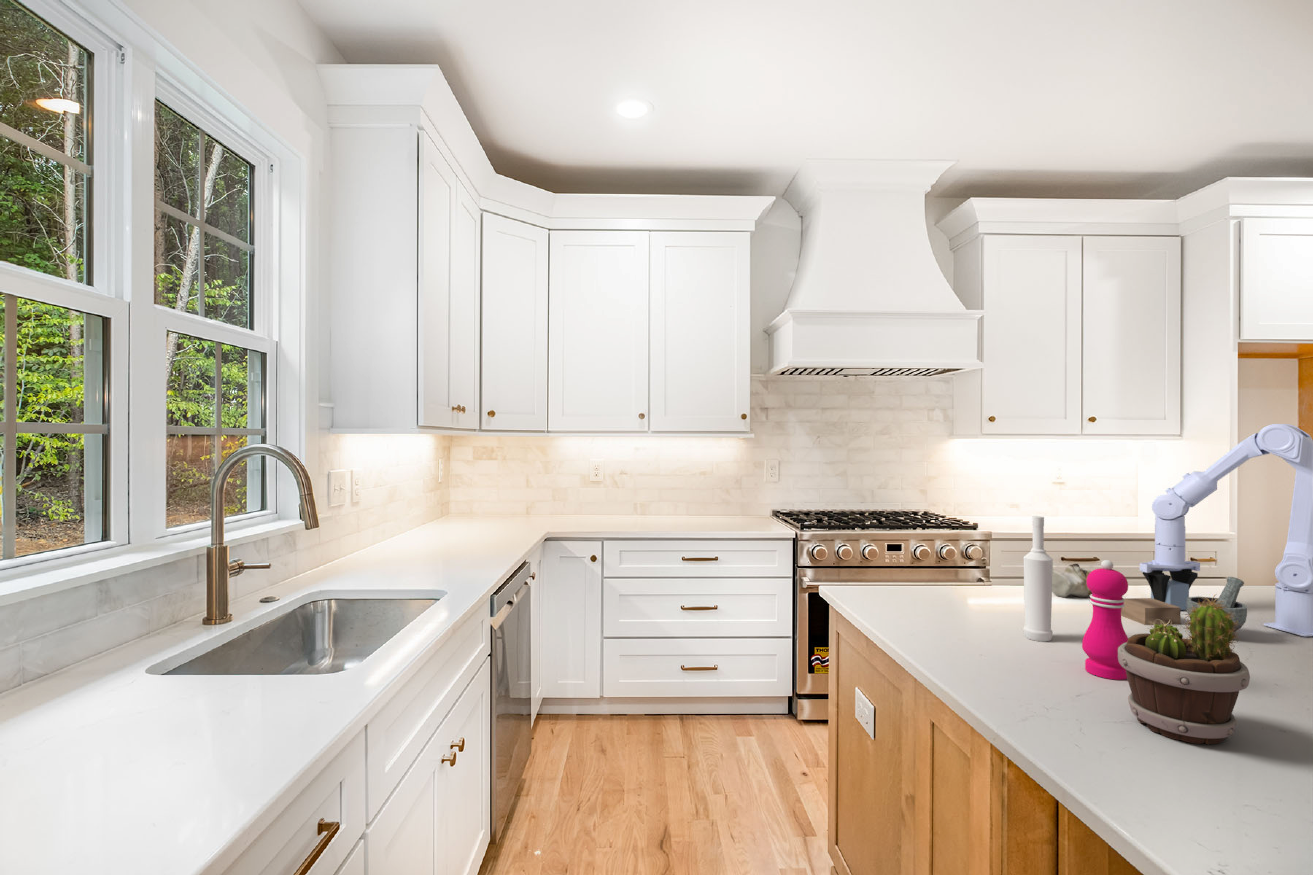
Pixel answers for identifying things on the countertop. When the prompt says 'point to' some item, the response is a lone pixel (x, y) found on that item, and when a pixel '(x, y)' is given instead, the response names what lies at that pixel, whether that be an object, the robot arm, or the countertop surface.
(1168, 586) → the slate block
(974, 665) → the countertop surface
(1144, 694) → the flowerpot
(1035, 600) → the bottle
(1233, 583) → the mortar and pestle
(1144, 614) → the walnut plinth
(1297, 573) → the robot arm
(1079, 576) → the grey rock
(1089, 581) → the pepper mill
